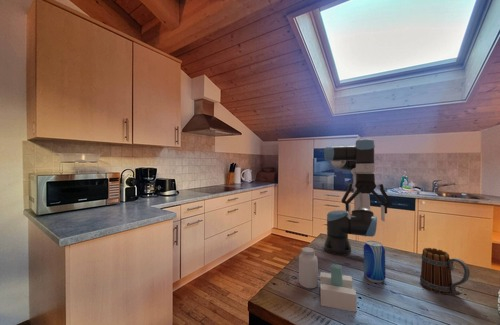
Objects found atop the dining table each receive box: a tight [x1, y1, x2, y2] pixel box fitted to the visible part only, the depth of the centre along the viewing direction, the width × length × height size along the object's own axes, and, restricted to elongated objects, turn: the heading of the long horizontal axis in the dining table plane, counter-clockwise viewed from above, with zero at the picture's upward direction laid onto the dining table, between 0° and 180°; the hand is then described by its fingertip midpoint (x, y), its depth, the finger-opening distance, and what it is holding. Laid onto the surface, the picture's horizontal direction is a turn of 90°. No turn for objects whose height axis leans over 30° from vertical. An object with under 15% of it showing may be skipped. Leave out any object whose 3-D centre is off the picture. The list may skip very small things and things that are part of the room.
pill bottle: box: [298, 246, 319, 289], centre depth 91 cm, size 8×8×15 cm
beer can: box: [363, 240, 386, 284], centre depth 95 cm, size 8×8×16 cm
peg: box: [330, 264, 343, 287], centre depth 82 cm, size 4×4×12 cm
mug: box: [419, 247, 471, 296], centre depth 86 cm, size 16×11×15 cm
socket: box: [319, 271, 358, 313], centre depth 82 cm, size 13×12×6 cm
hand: (365, 219), depth 95 cm, fingers open, 13 cm apart
